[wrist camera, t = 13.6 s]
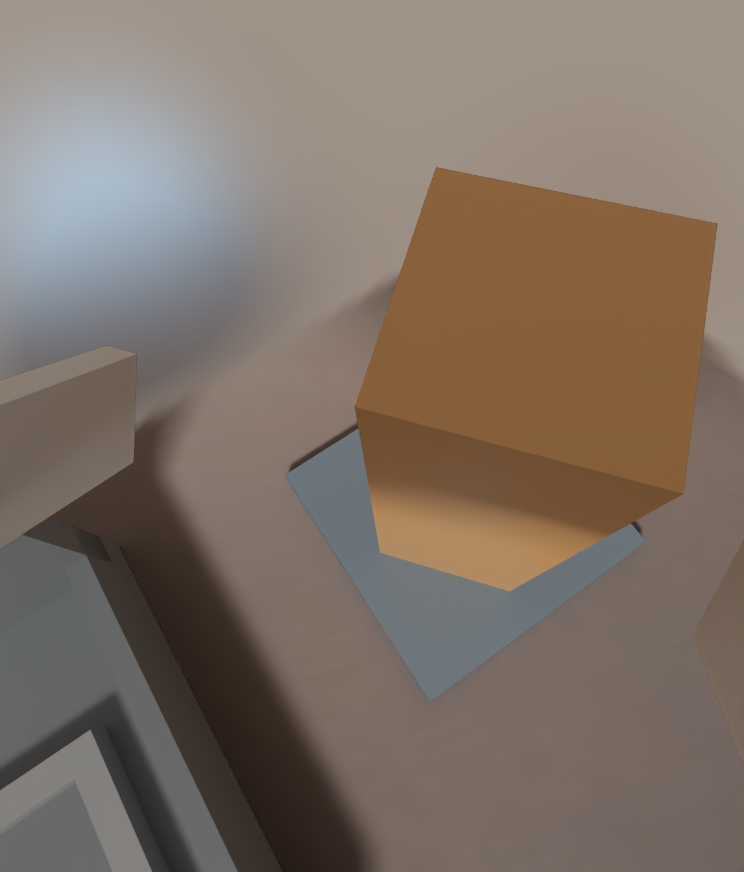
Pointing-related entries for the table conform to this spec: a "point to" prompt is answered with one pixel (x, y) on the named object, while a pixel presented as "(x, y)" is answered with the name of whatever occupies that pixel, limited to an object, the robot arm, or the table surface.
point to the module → (531, 376)
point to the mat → (434, 577)
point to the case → (104, 726)
